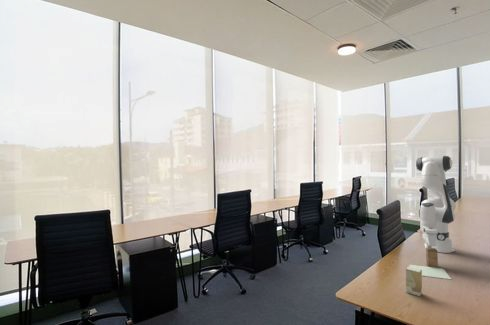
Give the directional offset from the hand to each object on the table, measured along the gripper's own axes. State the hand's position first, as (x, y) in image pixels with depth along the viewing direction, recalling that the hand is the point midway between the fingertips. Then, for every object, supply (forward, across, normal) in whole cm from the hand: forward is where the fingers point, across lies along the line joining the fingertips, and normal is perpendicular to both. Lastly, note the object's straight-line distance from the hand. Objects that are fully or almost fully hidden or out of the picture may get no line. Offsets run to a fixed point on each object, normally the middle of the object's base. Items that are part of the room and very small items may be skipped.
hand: (429, 249), depth 170 cm
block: (+9, +5, 0) cm, 11 cm away
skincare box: (+10, +49, -17) cm, 53 cm away
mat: (+9, +16, -4) cm, 19 cm away
